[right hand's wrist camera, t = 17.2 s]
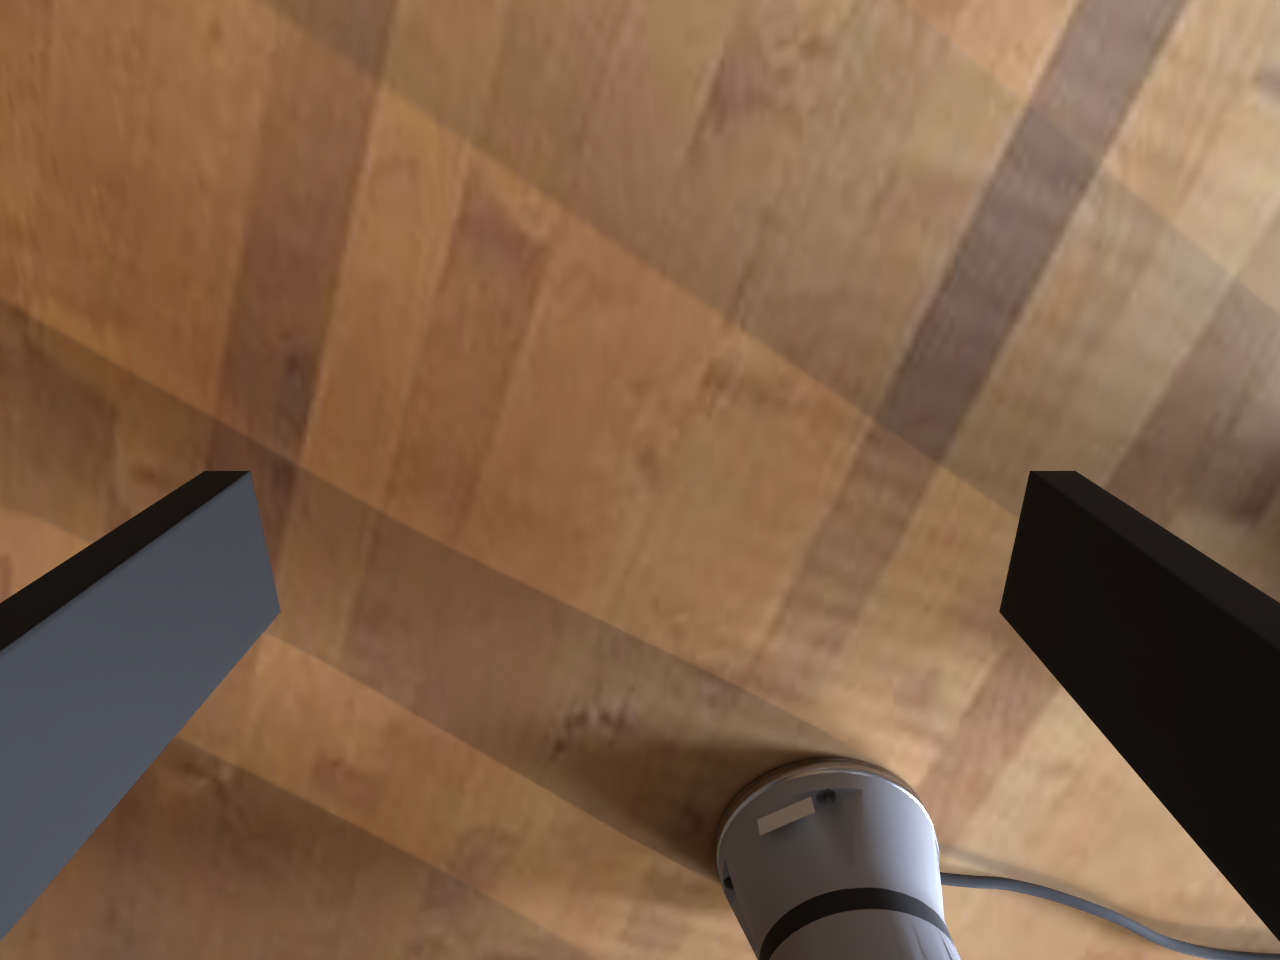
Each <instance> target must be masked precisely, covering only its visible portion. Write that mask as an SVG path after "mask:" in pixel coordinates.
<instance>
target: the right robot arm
mask: <svg viewBox="0 0 1280 960" xmlns="http://www.w3.org/2000/svg"><path fill="white" fill-rule="evenodd" d="M280 612H281V611H280V607H279V602H278V598H277V593H276V588H275V584H274V579H273V574H272V570H271V565H270V561H269V556H268V551H267V547H266V542H265V538H264V533H263V528H262V524H261V519H260V514H259V510H258V505H257V501H256V496H255V491H254V487H253V482H252V478H251V473H250V471H204V472H202V473H201V474H199V475H198V476H196V477H195V478H193V479H192V480H190V481H188V482H187V483H185V484H184V485H182V486H181V487H179V488H178V489H176V490H175V491H173V492H171V493H170V494H168V495H167V496H165V497H164V498H162V499H161V500H159V501H158V502H156V503H154V504H153V505H151V506H150V507H148V508H147V509H145V510H144V511H142V512H141V513H139V514H137V515H136V516H134V517H133V518H131V519H130V520H128V521H127V522H125V523H124V524H122V525H120V526H119V527H117V528H116V529H114V530H113V531H111V532H110V533H108V534H107V535H105V536H103V537H102V538H100V539H99V540H97V541H96V542H94V543H93V544H91V545H90V546H88V547H86V548H85V549H83V550H82V551H80V552H79V553H77V554H76V555H74V556H73V557H71V558H70V559H68V560H66V561H65V562H63V563H62V564H60V565H59V566H57V567H56V568H54V569H53V570H51V571H49V572H48V573H46V574H45V575H43V576H42V577H40V578H39V579H37V580H36V581H34V582H32V583H31V584H29V585H28V586H26V587H25V588H23V589H22V590H20V591H19V592H17V593H15V594H14V595H12V596H11V597H9V598H8V599H6V600H5V601H3V602H2V603H0V941H1V940H2V939H3V938H4V936H5V935H6V934H7V933H8V932H9V931H10V929H11V928H12V927H13V926H14V925H15V924H16V922H17V921H18V920H19V919H20V918H21V916H22V915H23V914H24V913H25V912H26V911H27V909H28V908H29V907H30V906H31V905H32V904H33V902H34V901H35V900H36V899H37V898H38V896H39V895H40V894H41V893H42V892H43V891H44V889H45V888H46V887H47V886H48V885H49V884H50V882H51V881H52V880H53V879H54V878H55V876H56V875H57V874H58V873H59V872H60V871H61V869H62V868H63V867H64V866H65V865H66V864H67V862H68V861H69V860H70V859H71V858H72V857H73V855H74V854H75V853H76V852H77V851H78V849H79V848H80V847H81V846H82V845H83V844H84V842H85V841H86V840H87V839H88V838H89V837H90V835H91V834H92V833H93V832H94V831H95V829H96V828H97V827H98V826H99V825H100V824H101V822H102V821H103V820H104V819H105V818H106V817H107V815H108V814H109V813H110V812H111V811H112V809H113V808H114V807H115V806H116V805H117V804H118V802H119V801H120V800H121V799H122V798H123V797H124V795H125V794H126V793H127V792H128V791H129V789H130V788H131V787H132V786H133V785H134V784H135V782H136V781H137V780H138V779H139V778H140V777H141V775H142V774H143V773H144V772H145V771H146V769H147V768H148V767H149V766H150V765H151V764H152V762H153V761H154V760H155V759H156V758H157V757H158V755H159V754H160V753H161V752H162V751H163V749H164V748H165V747H166V746H167V745H168V744H169V742H170V741H171V740H172V739H173V738H174V737H175V735H176V734H177V733H178V732H179V731H180V729H181V728H182V727H183V726H184V725H185V724H186V722H187V721H188V720H189V719H190V718H191V717H192V715H193V714H194V713H195V712H196V711H197V709H198V708H199V707H200V706H201V705H202V704H203V702H204V701H205V700H206V699H207V698H208V697H209V695H210V694H211V693H212V692H213V691H214V690H215V688H216V687H217V686H218V685H219V684H220V682H221V681H222V680H223V679H224V678H225V677H226V675H227V674H228V673H229V672H230V671H231V670H232V668H233V667H234V666H235V665H236V664H237V662H238V661H239V660H240V659H241V658H242V657H243V655H244V654H245V653H246V652H247V651H248V650H249V648H250V647H251V646H252V645H253V644H254V642H255V641H256V640H257V639H258V638H259V637H260V635H261V634H262V633H263V632H264V631H265V630H266V628H267V627H268V626H269V625H270V624H271V622H272V621H273V620H274V619H275V618H276V617H277V615H278V614H279V613H280ZM999 612H1000V613H1001V614H1002V615H1003V617H1004V618H1005V619H1006V620H1007V621H1008V622H1009V624H1010V625H1011V626H1012V627H1013V628H1014V630H1015V631H1016V632H1017V633H1018V634H1019V635H1020V637H1021V638H1022V639H1023V640H1024V641H1025V642H1026V644H1027V645H1028V646H1029V647H1030V648H1031V650H1032V651H1033V652H1034V653H1035V654H1036V655H1037V657H1038V658H1039V659H1040V660H1041V661H1042V662H1043V664H1044V665H1045V666H1046V667H1047V668H1048V670H1049V671H1050V672H1051V673H1052V674H1053V675H1054V677H1055V678H1056V679H1057V680H1058V681H1059V682H1060V684H1061V685H1062V686H1063V687H1064V688H1065V690H1066V691H1067V692H1068V693H1069V694H1070V695H1071V697H1072V698H1073V699H1074V700H1075V701H1076V702H1077V704H1078V705H1079V706H1080V707H1081V708H1082V709H1083V711H1084V712H1085V713H1086V714H1087V715H1088V717H1089V718H1090V719H1091V720H1092V721H1093V722H1094V724H1095V725H1096V726H1097V727H1098V728H1099V729H1100V731H1101V732H1102V733H1103V734H1104V735H1105V737H1106V738H1107V739H1108V740H1109V741H1110V742H1111V744H1112V745H1113V746H1114V747H1115V748H1116V749H1117V751H1118V752H1119V753H1120V754H1121V755H1122V757H1123V758H1124V759H1125V760H1126V761H1127V762H1128V764H1129V765H1130V766H1131V767H1132V768H1133V769H1134V771H1135V772H1136V773H1137V774H1138V775H1139V777H1140V778H1141V779H1142V780H1143V781H1144V782H1145V784H1146V785H1147V786H1148V787H1149V788H1150V789H1151V791H1152V792H1153V793H1154V794H1155V795H1156V797H1157V798H1158V799H1159V800H1160V801H1161V802H1162V804H1163V805H1164V806H1165V807H1166V808H1167V809H1168V811H1169V812H1170V813H1171V814H1172V815H1173V817H1174V818H1175V819H1176V820H1177V821H1178V822H1179V824H1180V825H1181V826H1182V827H1183V828H1184V829H1185V831H1186V832H1187V833H1188V834H1189V835H1190V837H1191V838H1192V839H1193V840H1194V841H1195V842H1196V844H1197V845H1198V846H1199V847H1200V848H1201V849H1202V851H1203V852H1204V853H1205V854H1206V855H1207V857H1208V858H1209V859H1210V860H1211V861H1212V862H1213V864H1214V865H1215V866H1216V867H1217V868H1218V869H1219V871H1220V872H1221V873H1222V874H1223V875H1224V876H1225V878H1226V879H1227V880H1228V881H1229V882H1230V884H1231V885H1232V886H1233V887H1234V888H1235V889H1236V891H1237V892H1238V893H1239V894H1240V895H1241V896H1242V898H1243V899H1244V900H1245V901H1246V902H1247V904H1248V905H1249V906H1250V907H1251V908H1252V909H1253V911H1254V912H1255V913H1256V914H1257V915H1258V916H1259V918H1260V919H1261V920H1262V921H1263V922H1264V924H1265V925H1266V926H1267V927H1268V928H1269V929H1270V931H1271V932H1272V933H1273V934H1274V935H1275V936H1276V938H1277V939H1278V940H1279V941H1280V603H1278V602H1277V601H1275V600H1274V599H1272V598H1271V597H1269V596H1268V595H1266V594H1265V593H1263V592H1261V591H1260V590H1258V589H1257V588H1255V587H1254V586H1252V585H1251V584H1249V583H1248V582H1246V581H1244V580H1243V579H1241V578H1240V577H1238V576H1237V575H1235V574H1234V573H1232V572H1231V571H1229V570H1227V569H1226V568H1224V567H1223V566H1221V565H1220V564H1218V563H1217V562H1215V561H1214V560H1212V559H1210V558H1209V557H1207V556H1206V555H1204V554H1203V553H1201V552H1200V551H1198V550H1197V549H1195V548H1194V547H1192V546H1190V545H1189V544H1187V543H1186V542H1184V541H1183V540H1181V539H1180V538H1178V537H1177V536H1175V535H1173V534H1172V533H1170V532H1169V531H1167V530H1166V529H1164V528H1163V527H1161V526H1160V525H1158V524H1156V523H1155V522H1153V521H1152V520H1150V519H1149V518H1147V517H1146V516H1144V515H1143V514H1141V513H1139V512H1138V511H1136V510H1135V509H1133V508H1132V507H1130V506H1129V505H1127V504H1126V503H1124V502H1122V501H1121V500H1119V499H1118V498H1116V497H1115V496H1113V495H1112V494H1110V493H1109V492H1107V491H1105V490H1104V489H1102V488H1101V487H1099V486H1098V485H1096V484H1095V483H1093V482H1092V481H1090V480H1088V479H1087V478H1085V477H1084V476H1082V475H1081V474H1079V473H1078V472H1076V471H1030V473H1029V478H1028V482H1027V487H1026V491H1025V496H1024V501H1023V505H1022V510H1021V514H1020V519H1019V524H1018V528H1017V533H1016V538H1015V542H1014V547H1013V551H1012V556H1011V561H1010V565H1009V570H1008V574H1007V579H1006V584H1005V588H1004V593H1003V598H1002V602H1001V607H1000V611H999ZM715 849H716V859H717V868H718V873H719V878H720V881H721V884H722V887H723V890H724V893H725V895H726V898H727V900H728V902H729V904H730V905H731V907H732V909H733V912H734V914H735V916H736V918H737V920H738V922H739V924H740V925H741V927H742V929H743V931H744V933H745V935H746V937H747V939H748V941H749V943H750V945H751V947H752V949H753V951H754V953H755V955H756V957H757V959H758V960H961V959H960V957H959V955H958V952H957V950H956V948H955V946H954V943H953V941H952V939H951V936H950V934H949V932H948V929H947V926H946V924H945V921H944V913H943V901H942V889H941V885H950V886H959V887H969V888H984V889H1001V890H1009V891H1015V892H1020V893H1024V894H1029V895H1033V896H1037V897H1041V898H1045V899H1048V900H1052V901H1055V902H1058V903H1061V904H1064V905H1067V906H1070V907H1073V908H1076V909H1079V910H1082V911H1085V912H1087V913H1090V914H1093V915H1096V916H1098V917H1101V918H1104V919H1106V920H1109V921H1111V922H1114V923H1116V924H1118V925H1120V926H1123V927H1124V928H1126V929H1128V930H1130V931H1132V932H1134V933H1136V934H1138V935H1140V936H1142V937H1144V938H1146V939H1148V940H1150V941H1152V942H1154V943H1156V944H1158V945H1161V946H1163V947H1166V948H1168V949H1171V950H1174V951H1177V952H1181V953H1184V954H1188V955H1192V956H1196V957H1201V958H1205V959H1211V960H1280V954H1271V953H1252V952H1238V951H1228V950H1220V949H1214V948H1208V947H1203V946H1198V945H1194V944H1189V943H1186V942H1182V941H1178V940H1175V939H1172V938H1169V937H1166V936H1164V935H1161V934H1159V933H1156V932H1154V931H1152V930H1150V929H1148V928H1146V927H1145V926H1143V925H1141V924H1139V923H1137V922H1135V921H1133V920H1131V919H1129V918H1127V917H1125V916H1123V915H1121V914H1119V913H1117V912H1114V911H1112V910H1110V909H1107V908H1105V907H1102V906H1099V905H1097V904H1094V903H1091V902H1088V901H1086V900H1083V899H1080V898H1077V897H1075V896H1072V895H1069V894H1066V893H1063V892H1060V891H1057V890H1053V889H1050V888H1047V887H1043V886H1039V885H1036V884H1032V883H1027V882H1023V881H1018V880H1013V879H1008V878H1001V877H988V876H971V875H961V874H951V873H942V872H939V848H938V843H937V839H936V835H935V831H934V828H933V825H932V822H931V820H930V818H929V816H928V814H927V812H926V810H925V807H924V805H923V803H922V801H921V800H920V798H919V797H918V795H917V794H916V793H915V791H914V790H913V789H912V788H911V787H910V786H909V785H908V784H907V783H906V782H905V781H903V780H902V779H901V778H899V777H898V776H897V775H895V774H893V773H892V772H890V771H888V770H886V769H884V768H882V767H879V766H877V765H874V764H871V763H867V762H864V761H860V760H854V759H847V758H816V759H810V760H804V761H799V762H795V763H792V764H788V765H785V766H783V767H780V768H778V769H775V770H773V771H771V772H769V773H767V774H765V775H763V776H761V777H760V778H758V779H756V780H755V781H754V782H752V783H751V784H749V785H748V786H747V787H746V788H745V789H743V790H742V791H741V792H740V793H739V794H738V795H737V796H736V797H735V798H734V800H733V801H732V802H731V803H730V805H729V806H728V808H727V809H726V811H725V813H724V814H723V816H722V819H721V821H720V823H719V826H718V829H717V834H716V842H715Z"/></svg>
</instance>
